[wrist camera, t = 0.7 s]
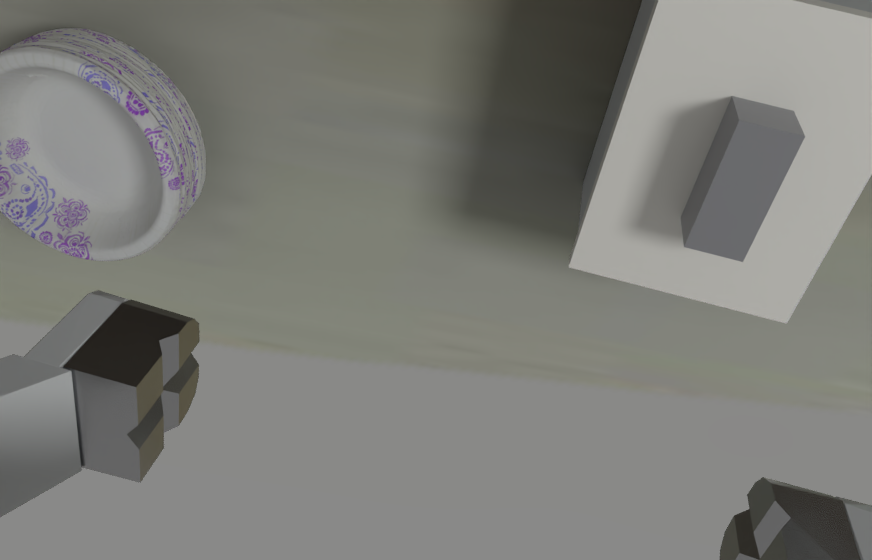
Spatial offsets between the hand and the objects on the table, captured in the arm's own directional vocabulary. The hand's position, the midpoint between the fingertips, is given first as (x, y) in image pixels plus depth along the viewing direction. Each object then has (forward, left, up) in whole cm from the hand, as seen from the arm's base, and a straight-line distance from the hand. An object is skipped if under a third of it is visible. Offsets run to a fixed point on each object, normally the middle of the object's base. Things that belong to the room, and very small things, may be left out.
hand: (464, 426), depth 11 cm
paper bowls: (+20, -29, -41) cm, 54 cm away
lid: (+8, +10, -33) cm, 35 cm away
